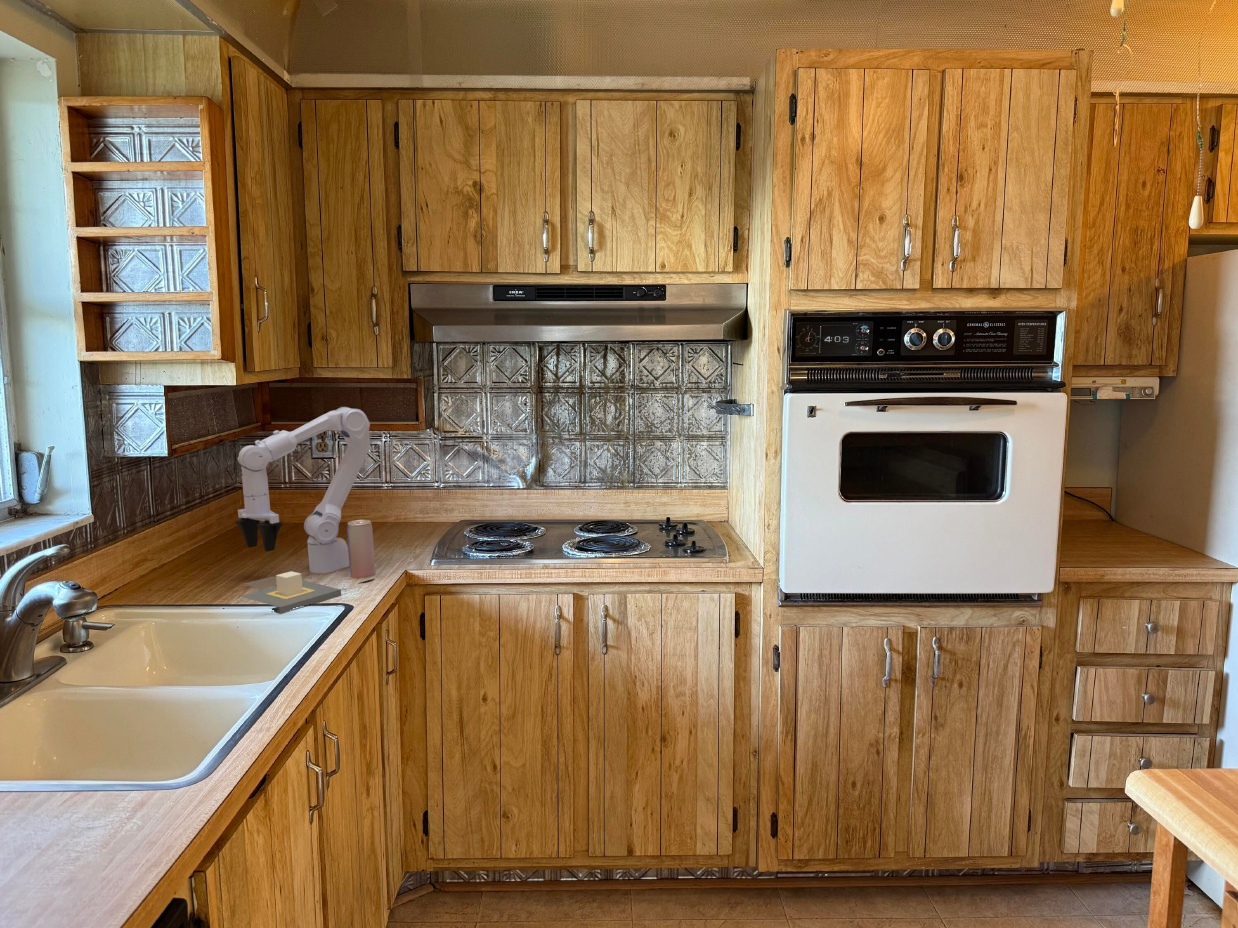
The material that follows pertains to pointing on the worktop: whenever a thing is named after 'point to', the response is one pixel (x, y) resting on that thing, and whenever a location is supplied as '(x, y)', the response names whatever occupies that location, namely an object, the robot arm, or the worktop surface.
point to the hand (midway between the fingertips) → (261, 548)
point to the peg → (289, 583)
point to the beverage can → (361, 549)
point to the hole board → (295, 596)
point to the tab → (263, 583)
